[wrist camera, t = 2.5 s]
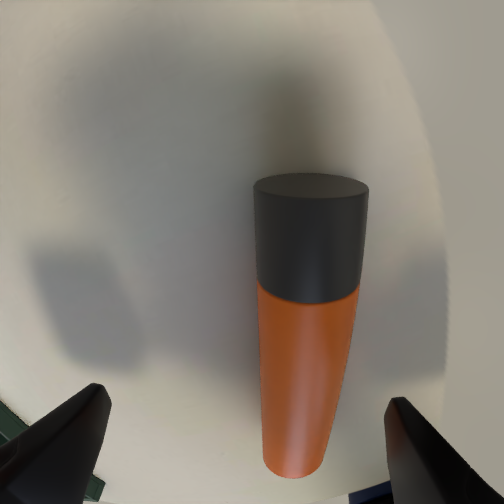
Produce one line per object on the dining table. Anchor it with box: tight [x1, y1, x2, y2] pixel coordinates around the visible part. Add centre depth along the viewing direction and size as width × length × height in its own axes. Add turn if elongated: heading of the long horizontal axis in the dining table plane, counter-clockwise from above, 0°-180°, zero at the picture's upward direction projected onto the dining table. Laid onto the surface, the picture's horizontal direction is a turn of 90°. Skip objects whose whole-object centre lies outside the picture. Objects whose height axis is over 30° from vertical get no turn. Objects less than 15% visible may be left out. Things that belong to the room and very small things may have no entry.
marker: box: [253, 173, 369, 479], centre depth 10 cm, size 12×3×3 cm
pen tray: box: [0, 401, 105, 502], centre depth 19 cm, size 16×7×2 cm, turn 37°
